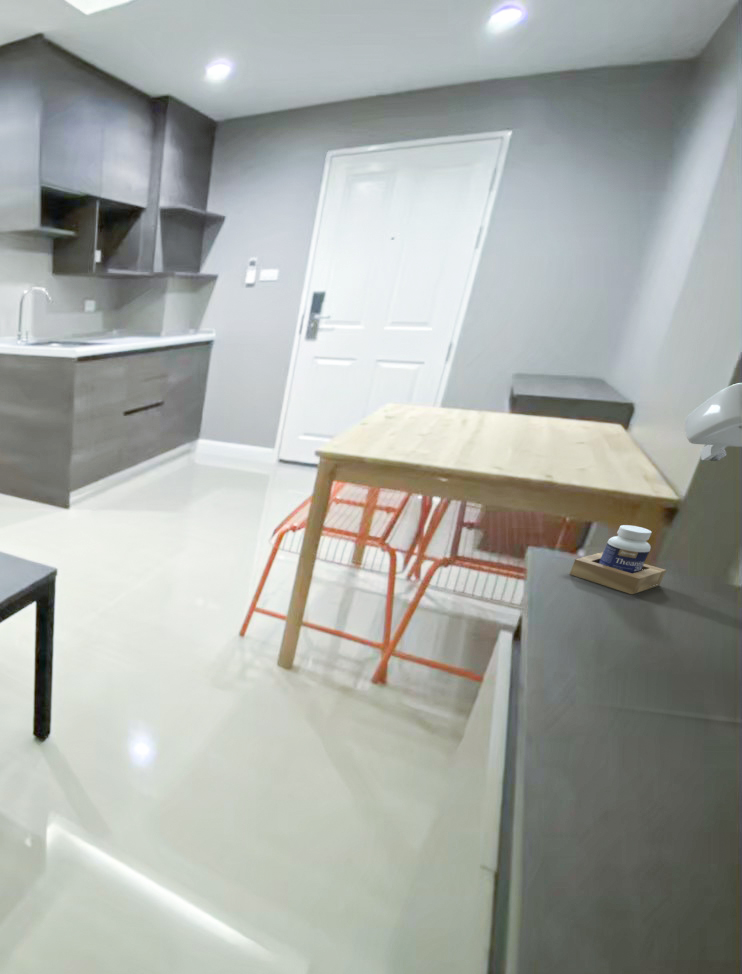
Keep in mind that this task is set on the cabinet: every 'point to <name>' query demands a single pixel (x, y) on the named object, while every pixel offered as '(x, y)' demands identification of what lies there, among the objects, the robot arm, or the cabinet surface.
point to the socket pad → (616, 575)
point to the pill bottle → (627, 549)
